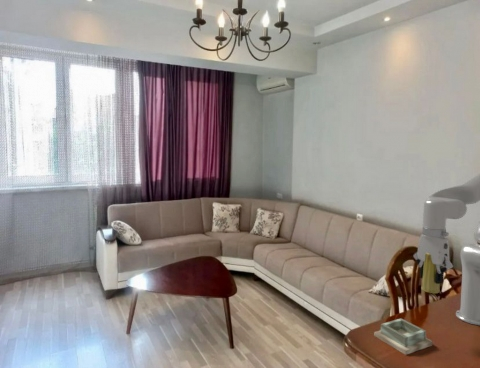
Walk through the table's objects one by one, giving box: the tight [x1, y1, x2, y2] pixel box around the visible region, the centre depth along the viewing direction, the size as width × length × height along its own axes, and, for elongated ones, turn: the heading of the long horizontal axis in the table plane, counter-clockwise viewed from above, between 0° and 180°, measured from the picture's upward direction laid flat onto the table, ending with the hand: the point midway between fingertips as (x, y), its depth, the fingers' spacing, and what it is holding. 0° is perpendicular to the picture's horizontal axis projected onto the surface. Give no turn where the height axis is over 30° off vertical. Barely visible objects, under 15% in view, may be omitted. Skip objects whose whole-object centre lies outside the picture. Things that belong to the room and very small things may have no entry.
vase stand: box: [373, 318, 434, 356], centre depth 128 cm, size 14×14×5 cm
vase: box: [421, 253, 441, 294], centre depth 129 cm, size 6×6×14 cm
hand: (431, 279), depth 129 cm, fingers closed on vase, 5 cm apart
